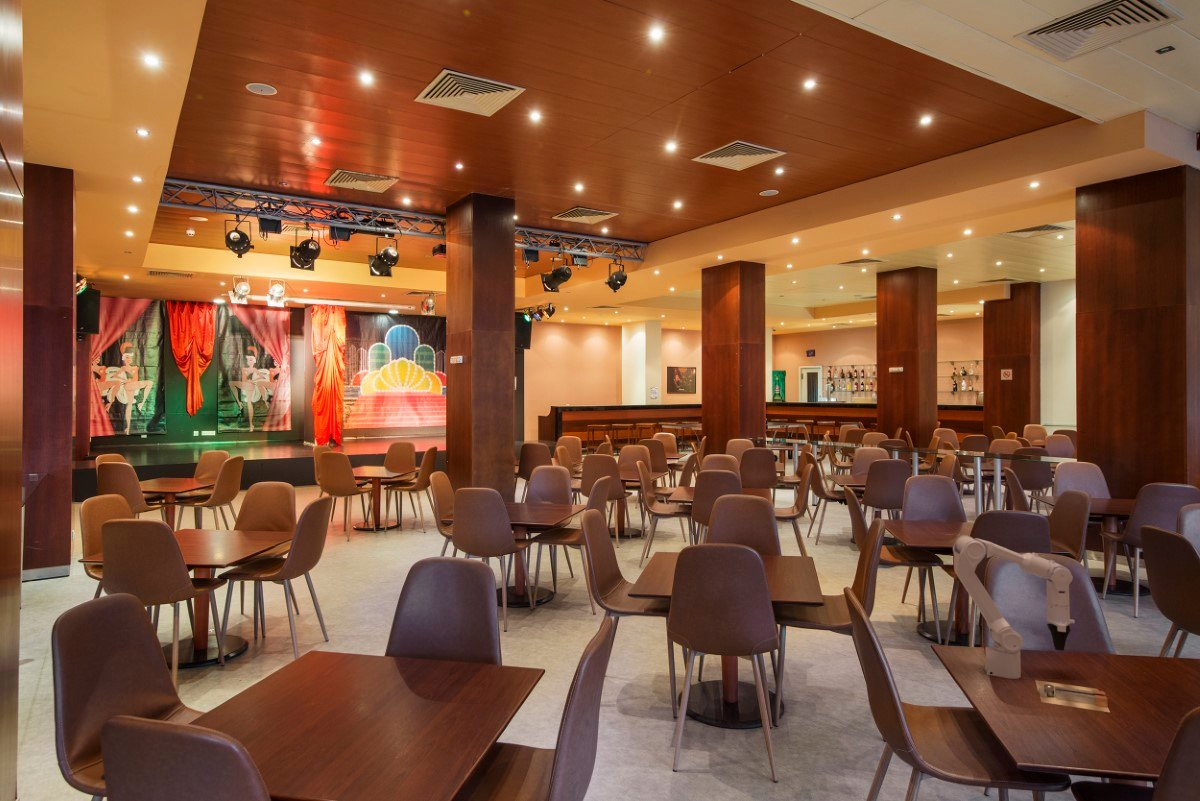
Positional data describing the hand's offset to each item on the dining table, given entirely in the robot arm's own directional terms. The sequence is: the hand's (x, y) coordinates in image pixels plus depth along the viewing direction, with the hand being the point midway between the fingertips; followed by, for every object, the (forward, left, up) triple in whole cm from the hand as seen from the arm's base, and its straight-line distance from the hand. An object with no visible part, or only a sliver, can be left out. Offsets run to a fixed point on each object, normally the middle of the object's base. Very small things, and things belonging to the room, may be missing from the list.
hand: (1059, 649), depth 210 cm
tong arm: (+3, -17, -8) cm, 19 cm away
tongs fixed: (+1, -18, -8) cm, 20 cm away
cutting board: (+1, -15, -9) cm, 18 cm away
